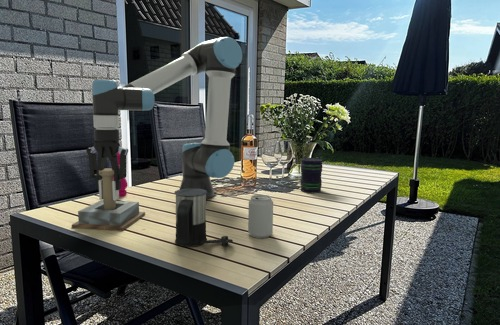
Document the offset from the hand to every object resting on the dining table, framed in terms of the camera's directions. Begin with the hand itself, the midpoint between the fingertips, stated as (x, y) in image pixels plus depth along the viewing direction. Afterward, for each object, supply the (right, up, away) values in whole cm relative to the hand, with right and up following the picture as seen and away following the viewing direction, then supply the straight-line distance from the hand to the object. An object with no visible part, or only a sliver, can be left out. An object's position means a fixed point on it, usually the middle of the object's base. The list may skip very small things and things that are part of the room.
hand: (109, 199), depth 120 cm
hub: (0, -7, +1) cm, 8 cm away
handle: (0, -5, +1) cm, 5 cm away
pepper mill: (-10, -2, +36) cm, 38 cm away
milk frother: (+34, -11, -17) cm, 39 cm away
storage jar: (+75, -1, +50) cm, 91 cm away
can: (+50, -10, -10) cm, 52 cm away
